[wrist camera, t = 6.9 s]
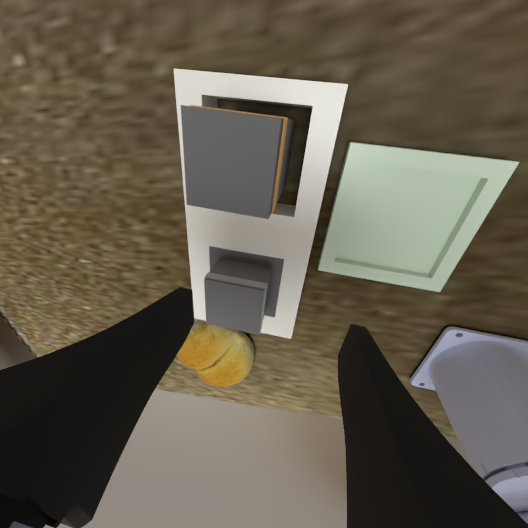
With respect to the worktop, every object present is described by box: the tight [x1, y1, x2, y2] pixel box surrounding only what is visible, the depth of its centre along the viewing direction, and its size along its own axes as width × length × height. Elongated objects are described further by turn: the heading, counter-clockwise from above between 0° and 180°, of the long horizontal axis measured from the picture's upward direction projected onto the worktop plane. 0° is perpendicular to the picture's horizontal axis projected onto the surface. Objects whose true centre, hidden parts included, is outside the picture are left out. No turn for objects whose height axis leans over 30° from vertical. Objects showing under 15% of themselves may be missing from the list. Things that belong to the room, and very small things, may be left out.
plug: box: [181, 105, 295, 219], centre depth 13 cm, size 4×4×7 cm
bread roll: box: [177, 318, 254, 386], centre depth 25 cm, size 8×9×4 cm
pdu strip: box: [174, 69, 348, 339], centre depth 16 cm, size 9×18×6 cm, turn 175°
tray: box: [318, 141, 519, 292], centre depth 16 cm, size 9×9×1 cm
